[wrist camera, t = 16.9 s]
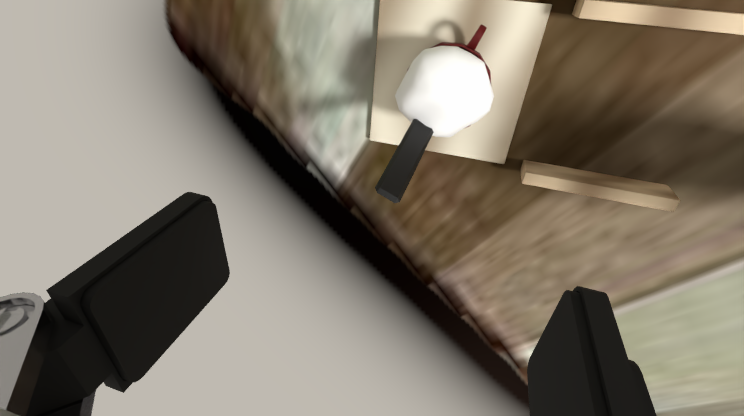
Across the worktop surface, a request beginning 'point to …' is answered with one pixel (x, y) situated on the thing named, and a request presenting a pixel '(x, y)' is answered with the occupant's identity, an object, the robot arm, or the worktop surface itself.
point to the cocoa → (437, 105)
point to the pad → (458, 25)
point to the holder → (614, 186)
